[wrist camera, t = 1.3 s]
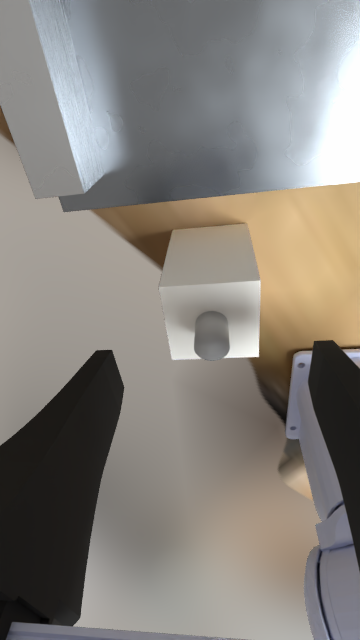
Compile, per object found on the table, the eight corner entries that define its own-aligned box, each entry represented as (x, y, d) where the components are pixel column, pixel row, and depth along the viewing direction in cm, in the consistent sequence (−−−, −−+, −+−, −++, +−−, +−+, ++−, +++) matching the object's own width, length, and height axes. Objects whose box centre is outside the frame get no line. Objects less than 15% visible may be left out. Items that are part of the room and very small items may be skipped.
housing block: (247, 287, 20) (262, 381, 14) (181, 292, 20) (168, 384, 14) (247, 223, 17) (265, 302, 11) (172, 229, 18) (153, 308, 12)
